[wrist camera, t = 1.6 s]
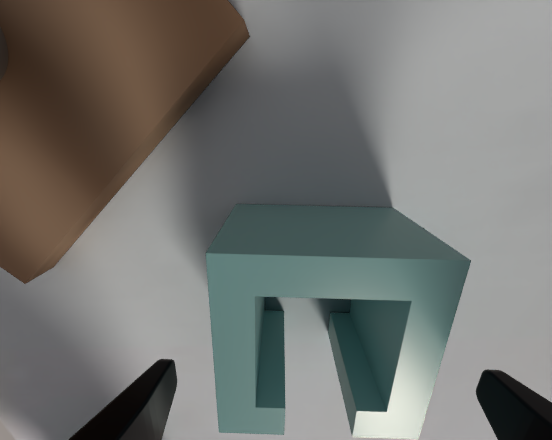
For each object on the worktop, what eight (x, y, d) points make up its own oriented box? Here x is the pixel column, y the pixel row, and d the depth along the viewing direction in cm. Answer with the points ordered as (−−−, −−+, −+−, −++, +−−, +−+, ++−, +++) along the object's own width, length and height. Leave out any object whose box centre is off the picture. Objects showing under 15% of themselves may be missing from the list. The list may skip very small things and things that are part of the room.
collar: (371, 334, 14) (418, 439, 9) (240, 329, 14) (218, 432, 9) (393, 207, 12) (470, 260, 7) (236, 203, 12) (205, 253, 7)
